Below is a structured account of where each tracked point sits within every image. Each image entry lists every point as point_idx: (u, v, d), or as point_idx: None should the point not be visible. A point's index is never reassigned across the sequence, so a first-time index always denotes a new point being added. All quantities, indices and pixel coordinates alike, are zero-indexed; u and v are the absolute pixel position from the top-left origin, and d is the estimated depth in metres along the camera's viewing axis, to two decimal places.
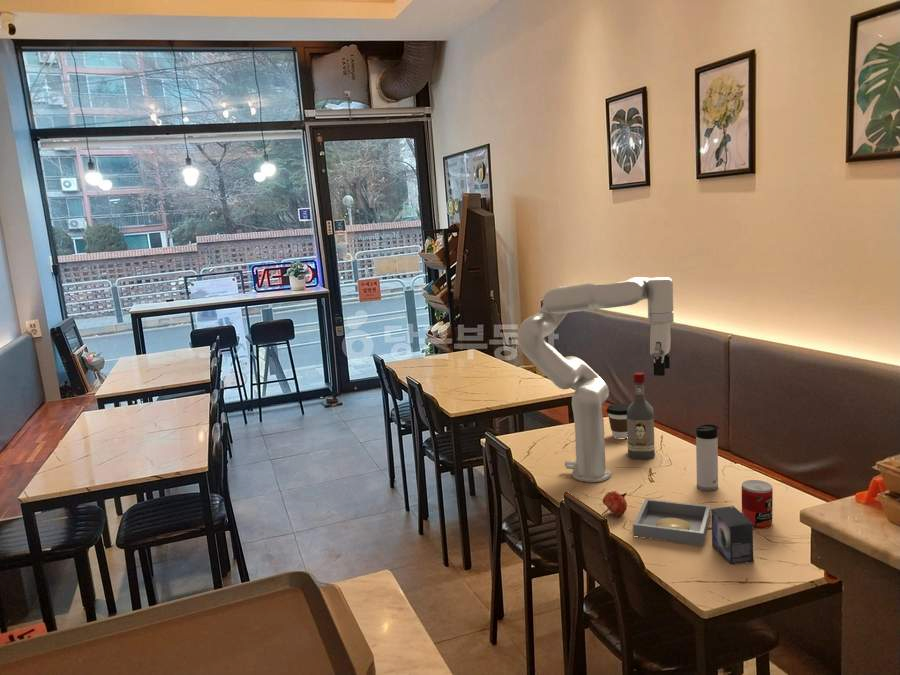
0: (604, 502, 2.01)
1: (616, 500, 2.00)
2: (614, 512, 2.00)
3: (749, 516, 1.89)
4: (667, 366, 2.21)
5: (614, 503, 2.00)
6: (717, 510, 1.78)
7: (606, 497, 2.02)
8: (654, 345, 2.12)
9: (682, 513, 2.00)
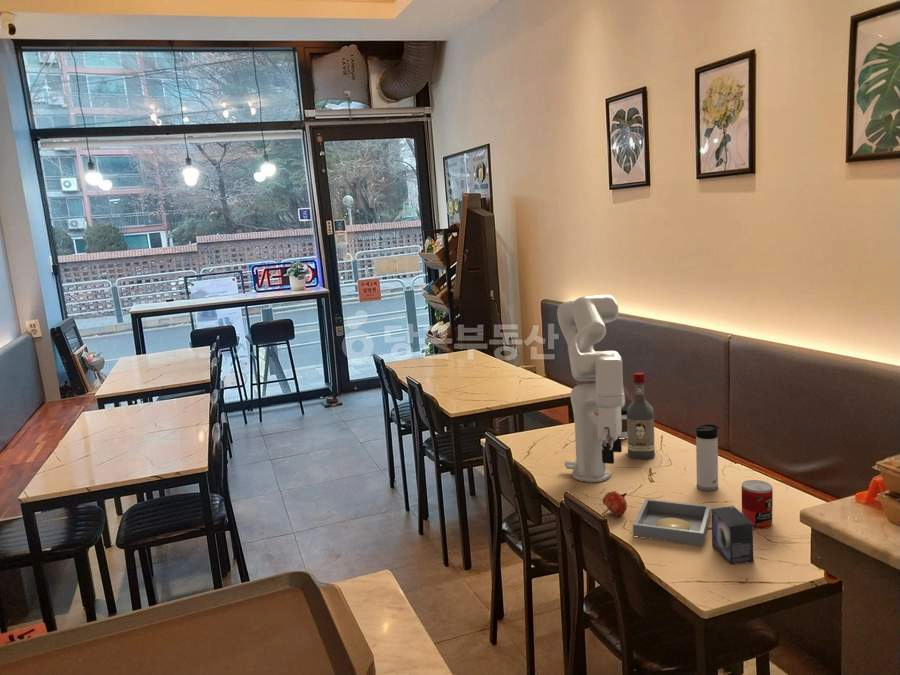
0: (604, 502, 2.01)
1: (616, 500, 2.00)
2: (614, 512, 2.00)
3: (749, 516, 1.89)
4: (619, 450, 2.04)
5: (614, 503, 2.00)
6: (717, 510, 1.78)
7: (606, 497, 2.02)
8: (602, 430, 1.95)
9: (682, 513, 2.00)
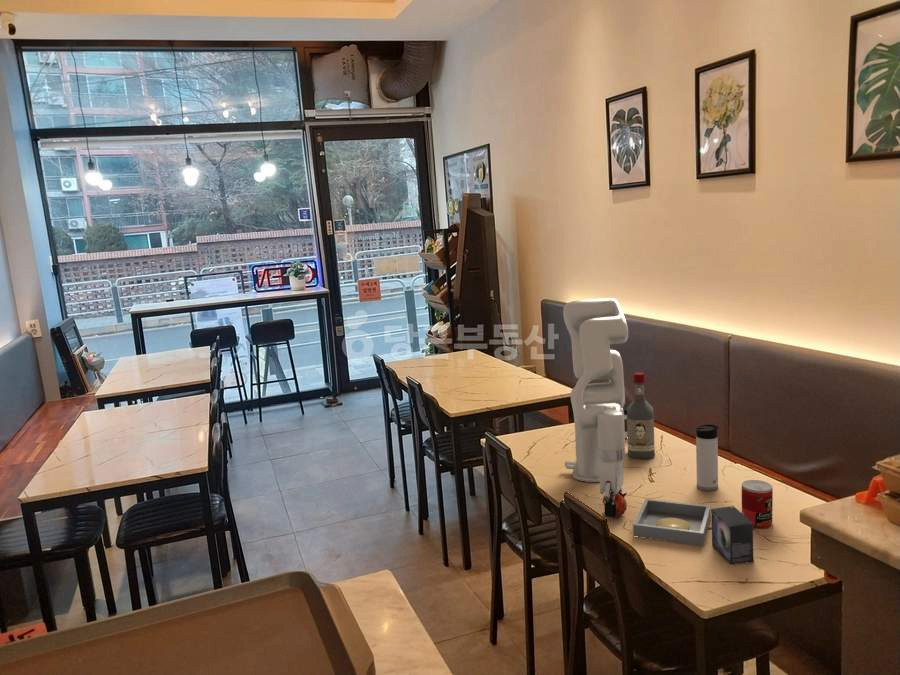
0: None
1: (616, 500, 2.00)
2: None
3: (749, 516, 1.89)
4: None
5: None
6: (717, 510, 1.78)
7: None
8: (604, 484, 1.98)
9: (682, 513, 2.00)
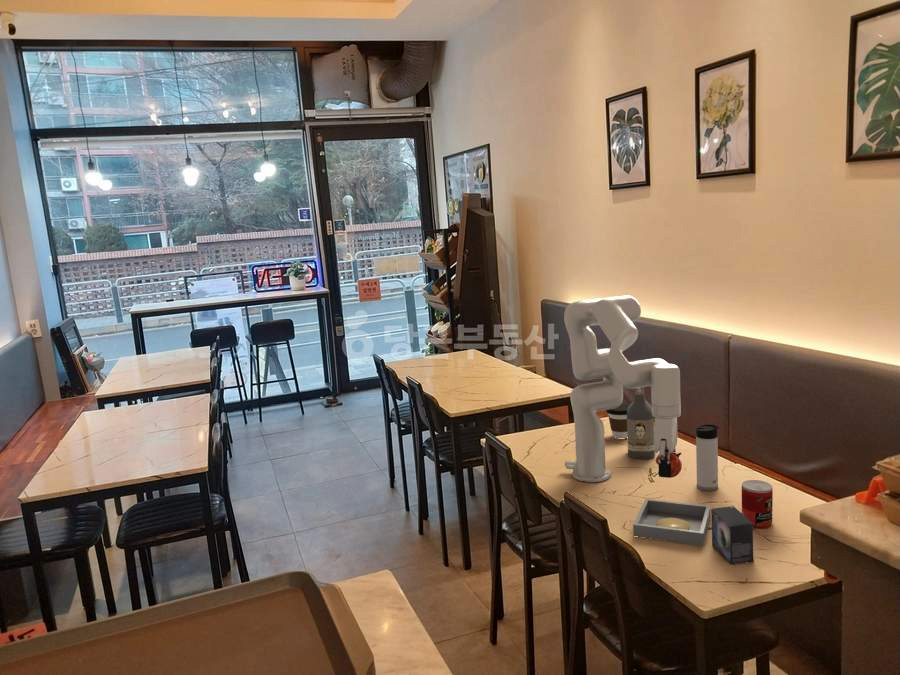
0: (657, 462, 1.89)
1: (671, 459, 1.88)
2: None
3: (749, 516, 1.89)
4: None
5: None
6: (717, 510, 1.78)
7: None
8: (658, 442, 1.86)
9: (682, 513, 2.00)
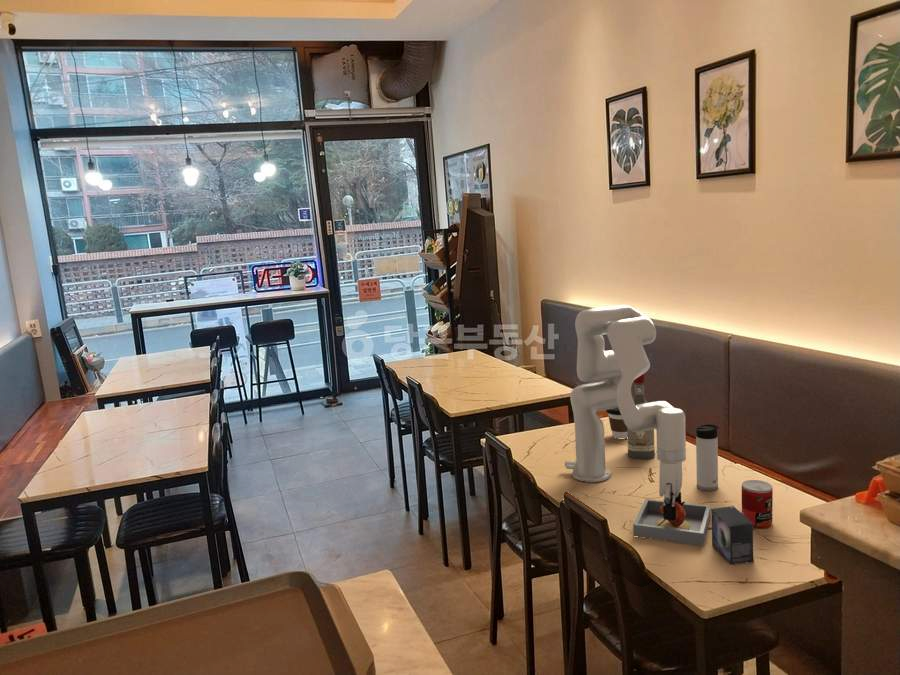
0: (662, 512, 1.91)
1: None
2: (673, 522, 1.90)
3: (749, 516, 1.89)
4: None
5: None
6: (717, 510, 1.78)
7: None
8: (664, 486, 1.87)
9: None
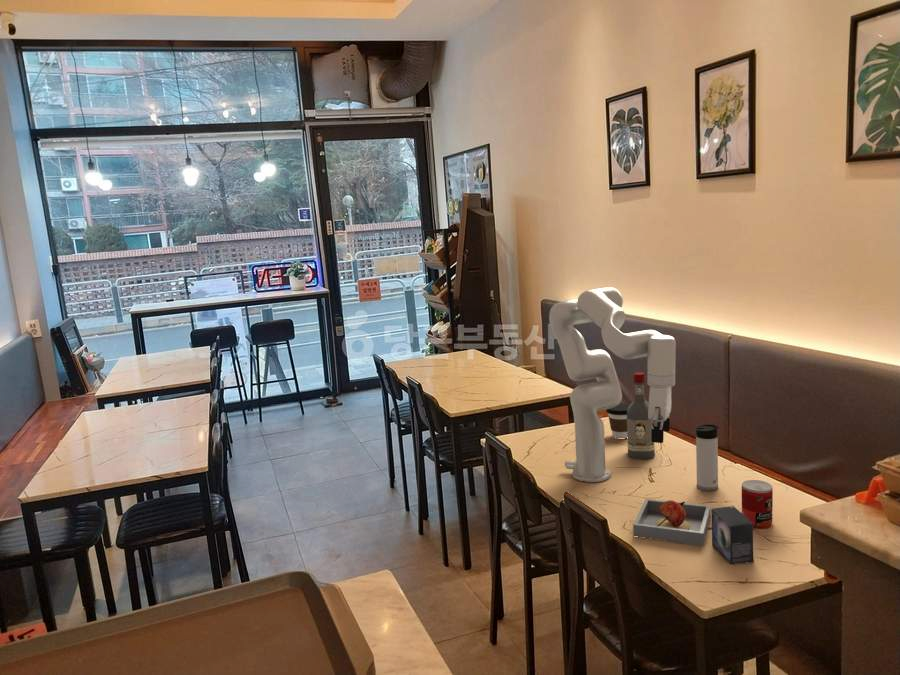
0: (662, 512, 1.91)
1: (675, 509, 1.90)
2: (673, 522, 1.90)
3: (749, 516, 1.89)
4: (667, 429, 2.03)
5: (673, 513, 1.89)
6: (717, 510, 1.78)
7: (664, 506, 1.91)
8: (653, 410, 1.94)
9: None
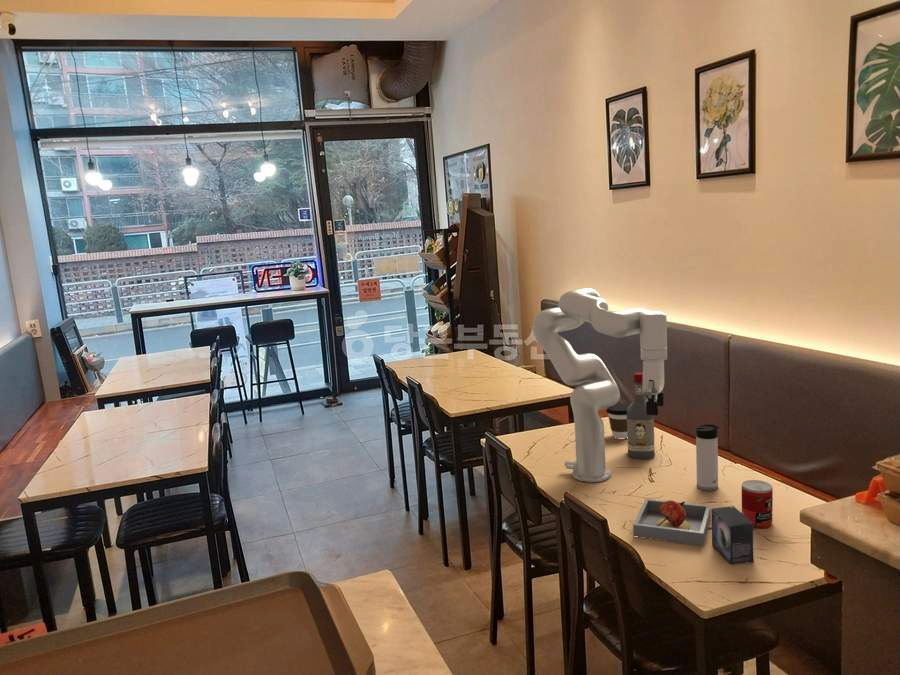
0: (662, 512, 1.91)
1: (675, 509, 1.90)
2: (673, 522, 1.90)
3: (749, 516, 1.89)
4: (661, 404, 2.10)
5: (673, 513, 1.89)
6: (717, 510, 1.78)
7: (664, 506, 1.91)
8: (647, 383, 2.01)
9: None
